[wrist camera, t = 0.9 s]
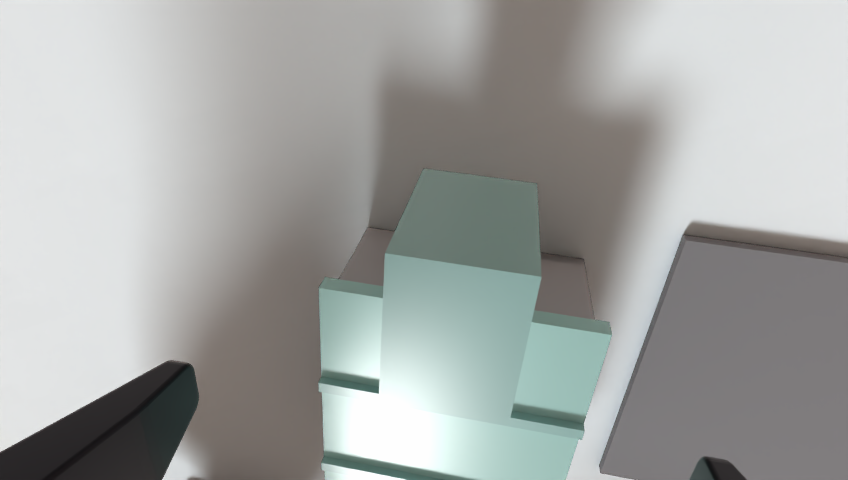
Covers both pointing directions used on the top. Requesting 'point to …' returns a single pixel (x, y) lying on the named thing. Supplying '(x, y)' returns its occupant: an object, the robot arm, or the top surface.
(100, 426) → the robot arm
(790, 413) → the mat
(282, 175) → the top surface
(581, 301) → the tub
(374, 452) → the lid
